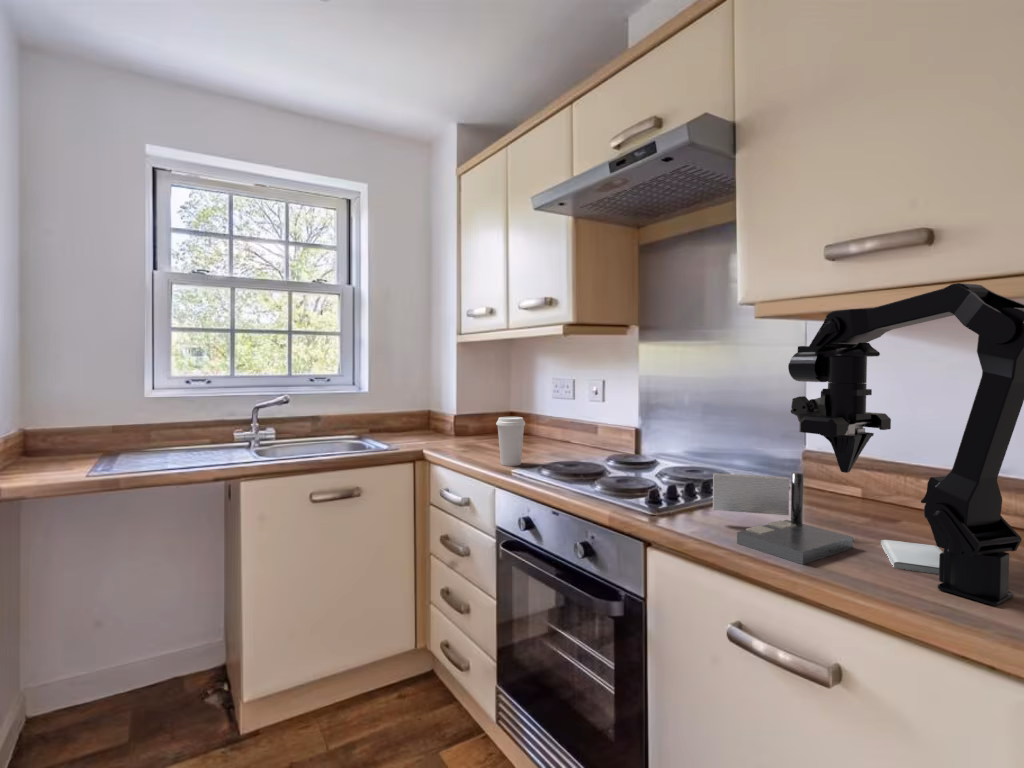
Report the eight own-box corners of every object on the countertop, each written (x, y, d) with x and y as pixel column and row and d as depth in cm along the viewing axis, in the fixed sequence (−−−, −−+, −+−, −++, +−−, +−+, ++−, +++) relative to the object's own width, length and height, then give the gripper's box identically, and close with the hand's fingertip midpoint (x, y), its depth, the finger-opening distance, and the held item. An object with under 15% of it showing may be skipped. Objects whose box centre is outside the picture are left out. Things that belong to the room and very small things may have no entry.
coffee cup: (490, 463, 174) (490, 417, 174) (514, 460, 180) (514, 415, 179) (506, 467, 166) (506, 419, 166) (531, 464, 172) (531, 418, 171)
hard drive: (960, 570, 80) (938, 545, 91) (893, 561, 84) (880, 538, 95) (959, 581, 80) (938, 554, 91) (893, 571, 84) (880, 547, 95)
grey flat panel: (786, 512, 104) (787, 477, 104) (788, 515, 102) (789, 479, 102) (712, 507, 108) (713, 473, 108) (713, 510, 106) (713, 475, 106)
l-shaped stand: (860, 545, 94) (861, 483, 94) (802, 564, 85) (803, 496, 85) (794, 528, 104) (795, 472, 104) (736, 543, 95) (737, 482, 95)
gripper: (829, 381, 105) (827, 460, 105) (771, 382, 95) (769, 469, 96) (893, 382, 95) (891, 469, 96) (835, 384, 86) (833, 481, 86)
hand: (845, 472), depth 94 cm, fingers closed
